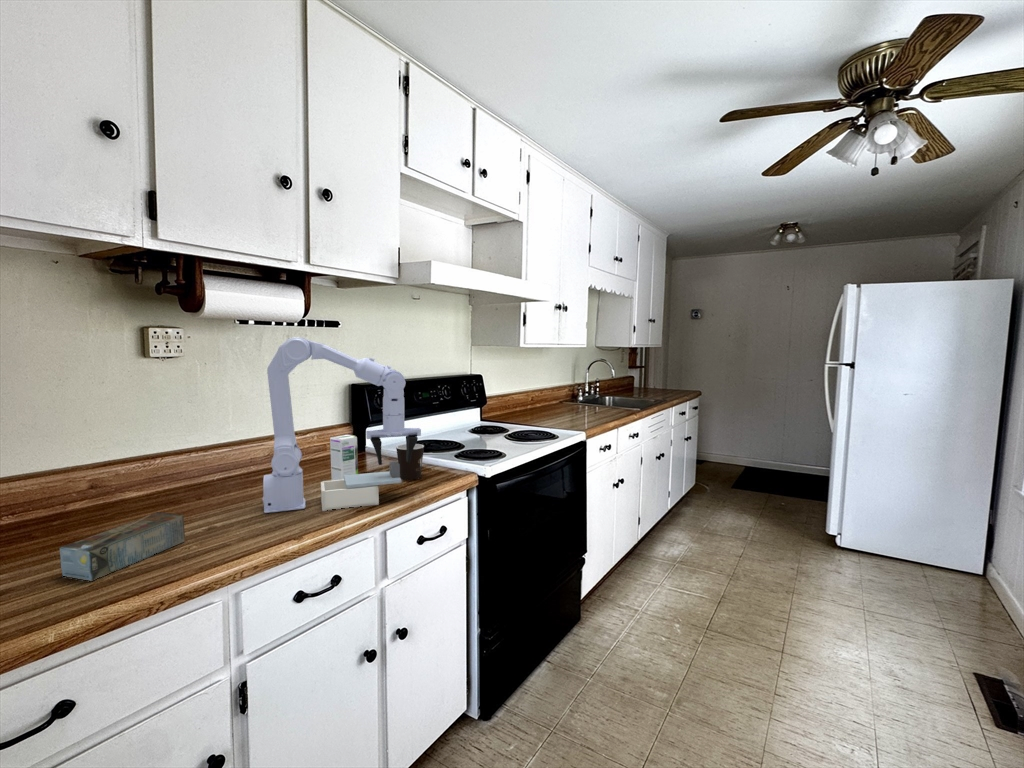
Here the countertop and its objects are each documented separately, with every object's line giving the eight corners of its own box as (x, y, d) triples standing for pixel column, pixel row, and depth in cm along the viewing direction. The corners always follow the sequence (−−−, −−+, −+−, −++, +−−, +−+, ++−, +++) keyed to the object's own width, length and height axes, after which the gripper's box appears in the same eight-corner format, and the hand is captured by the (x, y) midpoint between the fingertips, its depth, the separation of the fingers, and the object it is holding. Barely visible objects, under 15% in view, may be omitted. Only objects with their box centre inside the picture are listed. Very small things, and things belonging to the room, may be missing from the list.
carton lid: (346, 488, 126) (346, 471, 126) (344, 478, 135) (343, 462, 135) (401, 482, 131) (401, 466, 131) (395, 473, 141) (395, 458, 140)
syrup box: (342, 487, 145) (341, 438, 144) (330, 483, 149) (329, 436, 147) (358, 482, 150) (357, 436, 148) (347, 479, 153) (346, 433, 152)
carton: (322, 511, 124) (321, 491, 124) (321, 499, 134) (320, 481, 133) (378, 504, 130) (378, 486, 129) (374, 493, 139) (373, 476, 138)
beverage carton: (58, 578, 89) (55, 543, 88) (159, 538, 107) (157, 508, 107) (90, 584, 87) (88, 548, 86) (188, 542, 105) (186, 512, 105)
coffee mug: (411, 482, 150) (410, 450, 149) (390, 478, 154) (390, 447, 154) (436, 474, 160) (435, 444, 159) (416, 470, 164) (415, 441, 163)
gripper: (367, 417, 128) (368, 468, 129) (423, 414, 133) (423, 463, 134) (365, 413, 134) (365, 462, 135) (417, 411, 140) (418, 458, 141)
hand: (394, 462), depth 135 cm, fingers open, 7 cm apart
